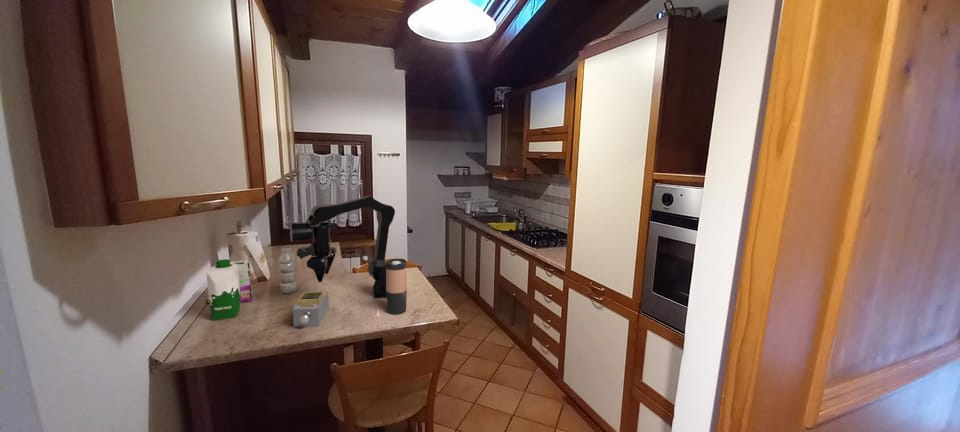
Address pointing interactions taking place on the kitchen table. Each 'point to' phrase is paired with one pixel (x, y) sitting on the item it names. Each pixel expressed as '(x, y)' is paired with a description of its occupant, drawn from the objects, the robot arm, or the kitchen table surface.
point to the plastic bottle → (287, 270)
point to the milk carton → (223, 290)
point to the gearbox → (310, 309)
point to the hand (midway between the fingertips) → (323, 277)
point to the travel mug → (396, 286)
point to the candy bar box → (244, 279)
